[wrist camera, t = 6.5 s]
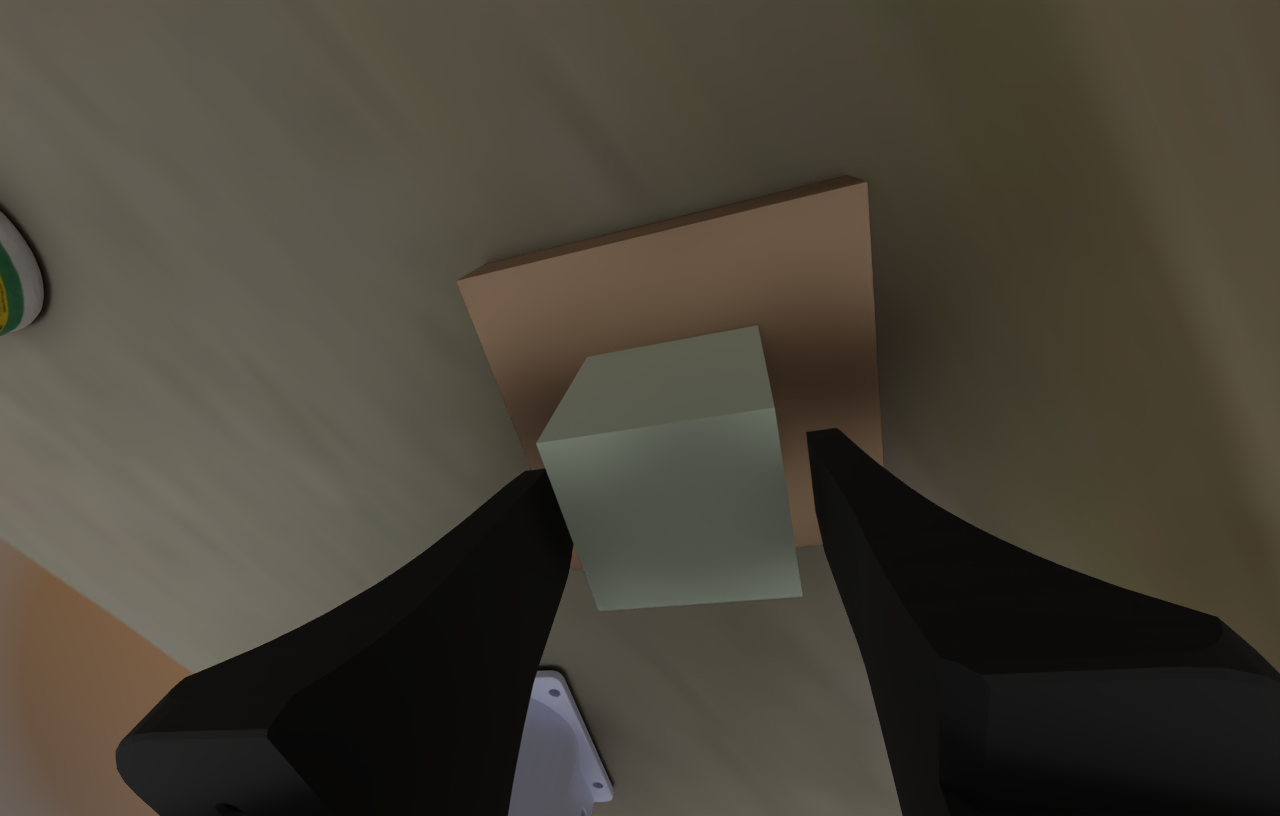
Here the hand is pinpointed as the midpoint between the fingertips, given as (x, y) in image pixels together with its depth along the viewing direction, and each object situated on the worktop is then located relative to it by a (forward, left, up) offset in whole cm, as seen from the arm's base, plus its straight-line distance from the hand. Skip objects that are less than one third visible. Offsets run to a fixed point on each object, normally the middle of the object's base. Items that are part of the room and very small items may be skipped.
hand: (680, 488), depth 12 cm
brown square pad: (0, 0, -6) cm, 6 cm away
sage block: (0, 0, -3) cm, 3 cm away
